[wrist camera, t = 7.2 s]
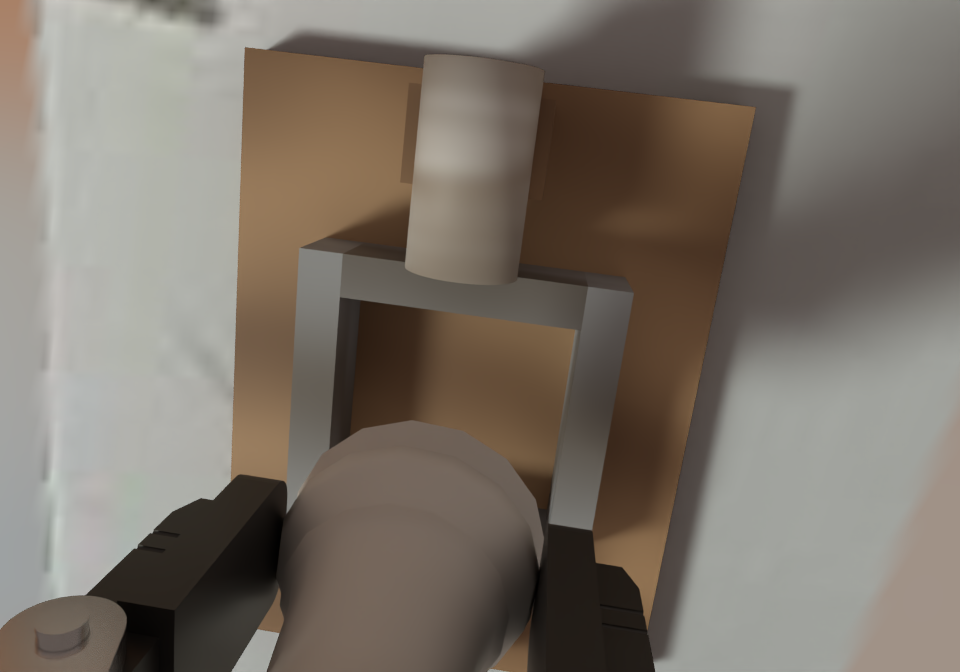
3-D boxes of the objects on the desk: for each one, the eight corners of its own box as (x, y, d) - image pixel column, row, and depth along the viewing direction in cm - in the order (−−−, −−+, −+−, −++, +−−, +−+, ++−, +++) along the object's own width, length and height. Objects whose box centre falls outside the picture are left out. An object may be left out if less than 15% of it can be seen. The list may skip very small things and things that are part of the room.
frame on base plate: (630, 668, 22) (651, 809, 17) (240, 603, 22) (159, 722, 18) (744, 109, 18) (813, 96, 13) (261, 52, 18) (162, 20, 14)
